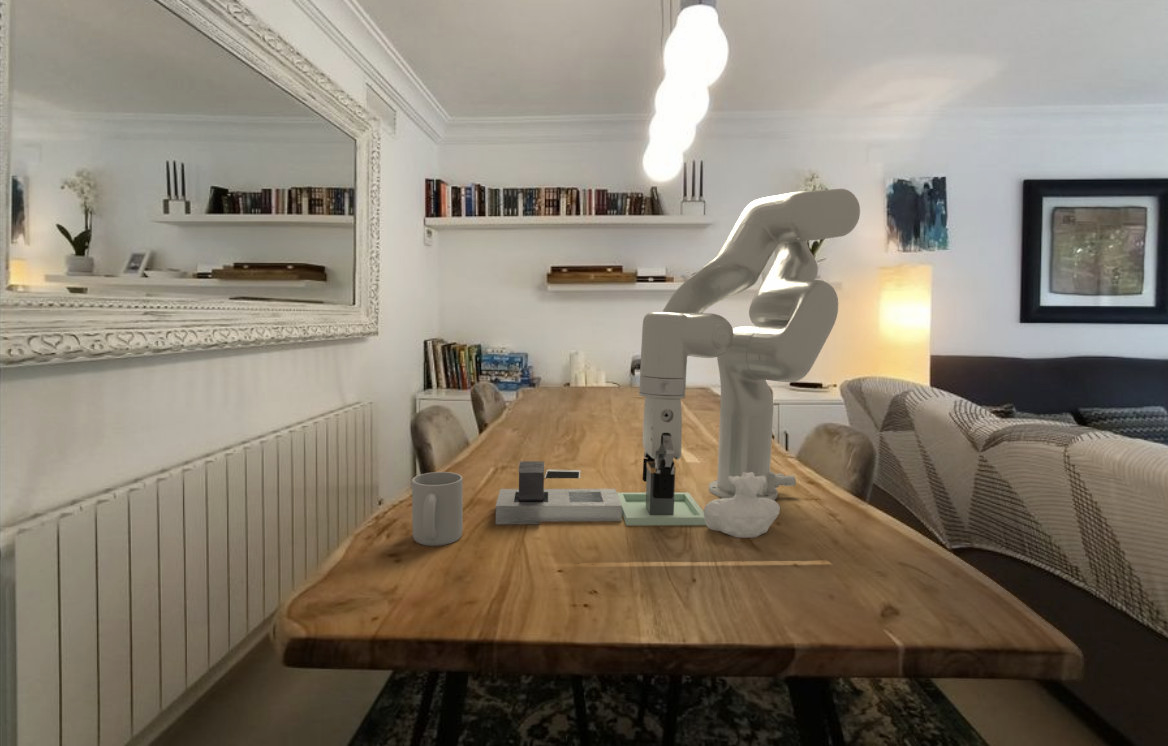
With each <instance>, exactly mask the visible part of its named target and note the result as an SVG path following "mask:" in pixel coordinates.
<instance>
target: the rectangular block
mask: <svg viewBox="0 0 1168 746" xmlns="http://www.w3.org/2000/svg"><path fill="white" fill-rule="evenodd" d="M660 464H661V462H660ZM646 467H647V478H646V483H645V484H646V485H645V486H646V487H645V493H646V509H647V511H648V513H649V515H674V492H675V490H676V489H675V485H676V472H677V471H676V467H675V466H674V488H673V498H671V499H664V498H654V497H653V477H654V473H656V468H655V462H647V466H646Z"/></svg>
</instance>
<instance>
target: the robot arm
mask: <svg viewBox="0 0 1168 746" xmlns="http://www.w3.org/2000/svg"><path fill="white" fill-rule="evenodd" d="M860 215H861V207H860V203H859V200H858V198H857V197H856V195H855V194H854V193H853V192H852V191H850V190H849V189H846V188H834V189H822V190H819V189H818V190H802V191H801V190H800V191H793V192H788V193H781V194H777V195H770V196H766V197H761V198H758V199H757V198H756V199H754V200H753V201H751V202H750V203H748V204H747V205H746V207H745V208H744V209H743V211H741V213H740V216H739V218H738V219H737V221H736V222H735V224H734V226H733V227H732V229H731V231H730V232H729V234H728V236H727V238H725V241H724V242H723V244H722V245H721V247H720V250H719V251H718V252H717V255H716V256H715V257H714V258H713V259H712V260H711V261H710V262H708V263H707V264H706V265H704V266H703V267H701V269H699V270H698V271H697V272H695V273H694V274H693V275H692V276H691V277H690V278H688V279H687V280H685V281H684V282H683V283H682V284H680V286H679V287H678V288H677V289H676V290H675V291H674V293H673V294H672V295H671V297H670V298H669V300H668V302H667V303H666V305H665V306H664V308H663V309H662V311H653V312H648V313H646V314H645V315H644V317H643V320H642V330H641V332H642V333H641V346H640V347H641V348H640V350H641V351H640V370H639V388H638V391H639V392H638V395H639V396H640V397H644V406H643V409H644V410H643V418H642V419H643V423H642V446H643V449H644V453H643V457H644V458H643V463H642V464H643V465H642V481H643V482H646V478H647V467H646V466H647V462H655V468H656V473H654V477H653V497H654V498H664V499H671V498H673V488H674V467H675V461H674V459H675V460H680V459H681V457H682V440H683V439H682V438H683V437H682V433H683V428H682V425H683V423H682V421H683V420H682V418H683V415H682V399H685V398H686V388H687V387H686V383H687V381H686V380H687V365H688V357H693V358H702V359H703V358H704V359H714V358H717V359H716V360H717V366H718V372H719V378H720V380H719V381H720V407H719V409H720V410H719V429H718V431H719V433H718V456H717V457H718V458H717V475H716V476H717V479H716V480H714V481H711V482H709V484H708V491H709V493H711V494H712V495H714V496H715V497H719V498H720V499H722V498H732V497H733V496H734V495H735V492H736V487H735V485H734V484H731V483H730V481H729V479H728V477H729V476H732V477H735V476H739V477H741V476H742V473H743V472H745V473H750V472H753V474H755V475H754V477H755V476H765V477H766V483H765V484H764V485H763V491H762V495H761V494H758V493H757V494H756V496H757V498H768V499H772V500H774V501H776V499H777V498H778V496H779V495H778V492H779V491H778V489H777V488H779V487H780V486H784V487H795V486H796V483H797V482H796V481H797V480H796V477H795V476H794V475H784V474H783V473H775V472H773V471H772V470H771V459H772V456H771V455H772V440H773V439H772V437H773V422H774V421H773V420H774V419H773V418H774V399H773V395H772V391H771V389H770V387H769V384H768V382H767V381H770V382H771V381H773V382H779V383H795V382H798V381H800V380H802V379H803V378H805V377H806V376H807V375H808V374H809V372H810V371H811V369H812V368H813V366H814V364H815V362H816V361H817V359H818V357H819V354H820V353H821V351H822V349H823V347H824V345H825V343H826V341H827V339H828V338H829V336H830V334H831V332H832V330H833V328H834V326H835V323H836V321H837V318H838V317H837V316H838V312H839V298H838V294H837V291H836V290H835V288H834V287H833V286H832V285H831V284H830V283H828V282H827V281H824V280H819V279H816V278H817V276H818V271H819V270H818V269H819V267H818V264H817V263H818V262H817V260H816V258H815V257H814V255H813V253H812V251H811V250H810V247H809V244H808V241H809V242H810V241H819V240H826V239H833V238H840V237H845V236H847V235H849V234H850V233H851V232H852V231H854V229H855V228H856V227H857V224H858V223H859V219H860ZM773 253H774V260H773V263H772V264H771V266H770V269H769V270H768V271H767V274H766V275H765V277H764V279H763V281H762V283H761V284H760V286H759V287H758V289H757V291H756V292H755V294H754V296H753V298H752V301H751V303H750V306H749V309H748V316H749V319H750V321H751V323H752V324H753V325H739V326H735V327H733V326H732V325H731V323H730V322H729V321H728V320H727V319H726V318H725V317H723V316H721V314H716V313H711V312H710V313H709V312H708V313H707V312H705V311H706V310H708V308H710V307H711V306H713V305H715V304H717V303H718V302H720V301H723V300H725V299H727V298H730V297H732V296H734V295H737V294H739V293H741V292H744V291H745V290H747V289H750V288H751V287H752V286H754V285H755V284H756V283H758V281H759V279H760V277H761V276H762V274H763V272H764V270H765V268H766V266H767V265H768V262H769V261H770V259H771V257H772V256H773ZM660 462H661V464H660Z"/></svg>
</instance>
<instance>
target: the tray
mask: <svg viewBox="0 0 1168 746" xmlns="http://www.w3.org/2000/svg"><path fill="white" fill-rule="evenodd" d="M617 494H618V497H619V499H620V502H621V505H622V518H623V521H624V523H625V526H707V525H706V523H705V519H704V509H702V508H701V507H700V505H699V504H698V502H697V501H696V500H695V499H694V498H693V497H692V495H691V493H690V492H678V491H677V492H675V491H674V515H649V513H648V511H647V509H646V492H617Z"/></svg>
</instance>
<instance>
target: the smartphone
mask: <svg viewBox="0 0 1168 746" xmlns="http://www.w3.org/2000/svg"><path fill="white" fill-rule="evenodd" d="M545 471H546V472H545V473H544V479H581V470H580V469H546V470H545Z"/></svg>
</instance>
